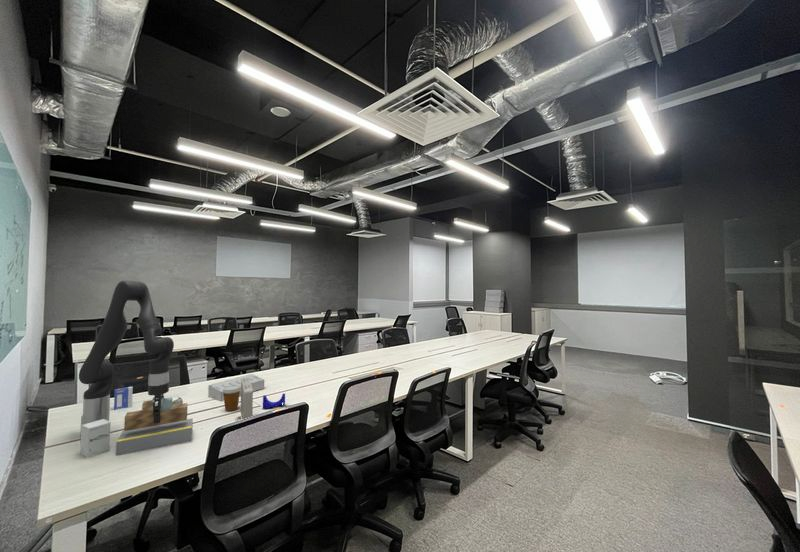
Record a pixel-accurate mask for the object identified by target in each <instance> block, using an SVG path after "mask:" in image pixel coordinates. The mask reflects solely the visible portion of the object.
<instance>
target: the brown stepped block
mask: <svg viewBox="0 0 800 552" xmlns="http://www.w3.org/2000/svg"><path fill="white" fill-rule="evenodd" d="M157 411H159V410H155V412H157ZM187 419H188V402H186V403H184V402H183V403H182V404H178V405H172V408H171V409H167V410H161V414H160V423H155V424H154V415H153V412H148V413H142V409H141V410H134V411H128V412H126V414H125V416H124V429H123V431H128V430H134V429H139V428H145V427H150V426H156V425H162V424H167V423H173V422H178V421H184V420H187Z"/></svg>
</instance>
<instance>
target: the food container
mask: <svg viewBox="0 0 800 552" xmlns="http://www.w3.org/2000/svg"><path fill="white" fill-rule="evenodd" d="M178 404H184V401H183V398H182V397H180V396H179V397H177V399H175V400H172V405H178Z"/></svg>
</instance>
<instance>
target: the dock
mask: <svg viewBox="0 0 800 552" xmlns="http://www.w3.org/2000/svg"><path fill="white" fill-rule="evenodd" d="M193 422H194V421H193V418H187V420H184V421H178V422H173V423H167V424H162V425H156V426H150V427H145V428H139V429H134V430H128V431H124V430H122V432H121V433H120V435H119V437H118V438H117V440H116V441H115V456H120V455H126V454H132V453H136V452H143V451H146V450H153V449H157V448H158V449H159V448H163V447H169V446H173V445H177V444H184V443H190V442H192V437H193V427H194V426H193V424H194V423H193Z"/></svg>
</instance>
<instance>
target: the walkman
mask: <svg viewBox="0 0 800 552" xmlns="http://www.w3.org/2000/svg"><path fill="white" fill-rule="evenodd" d="M133 388H134V387H133V386H128V387H122V388H115V389H114V395H113V396H114V398H113V400H114V401H113V410H114V411H117V410H122V409H127V408H132V407H133V394H134V393H133V392H134V389H133Z"/></svg>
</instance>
